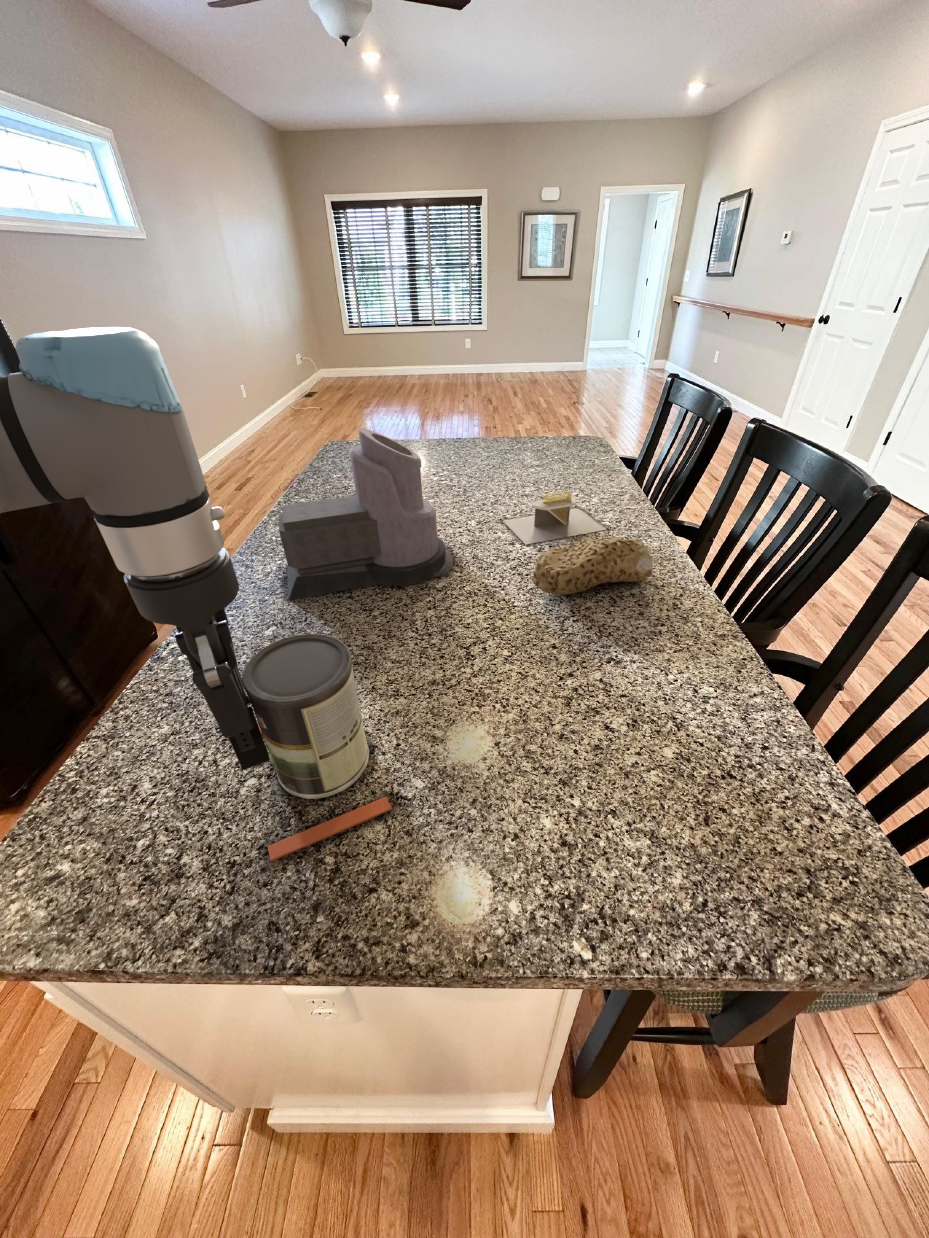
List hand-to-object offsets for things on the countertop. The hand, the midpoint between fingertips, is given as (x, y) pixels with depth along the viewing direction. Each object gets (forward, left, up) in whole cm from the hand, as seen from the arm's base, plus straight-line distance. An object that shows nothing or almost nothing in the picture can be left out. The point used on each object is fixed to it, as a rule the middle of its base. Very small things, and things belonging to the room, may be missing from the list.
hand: (255, 760), depth 53 cm
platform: (+64, +39, -4) cm, 75 cm away
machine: (+25, +40, -4) cm, 47 cm away
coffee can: (+7, 0, -4) cm, 8 cm away
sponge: (+56, +17, -4) cm, 59 cm away
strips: (+5, 0, -4) cm, 6 cm away
